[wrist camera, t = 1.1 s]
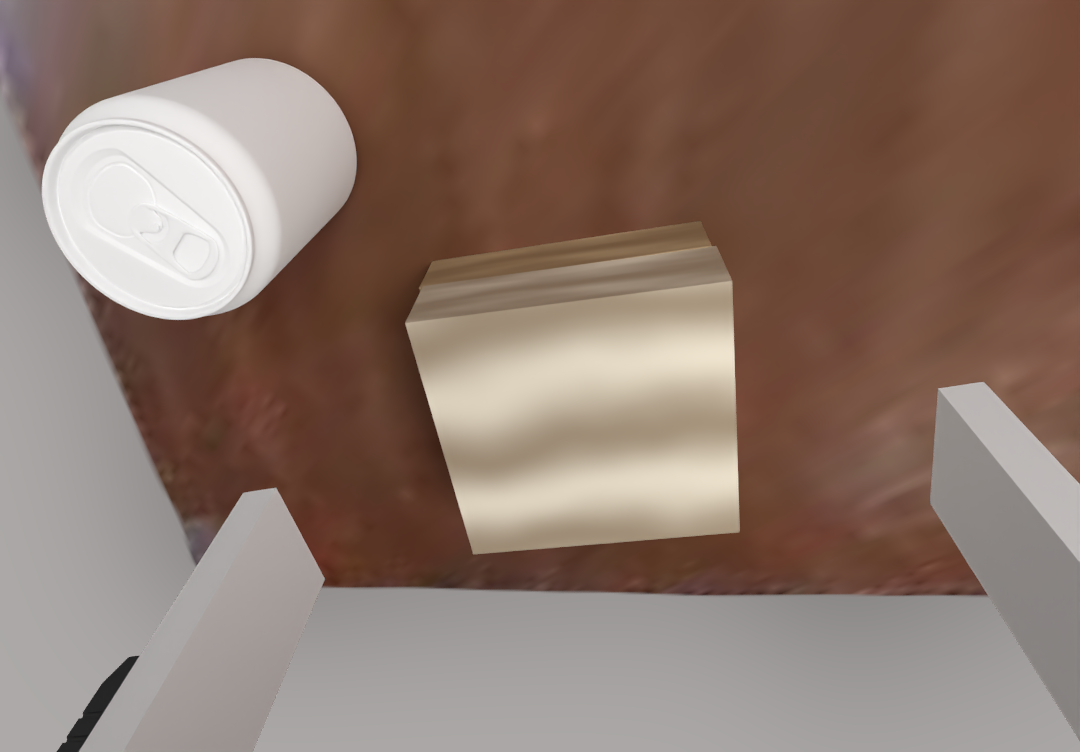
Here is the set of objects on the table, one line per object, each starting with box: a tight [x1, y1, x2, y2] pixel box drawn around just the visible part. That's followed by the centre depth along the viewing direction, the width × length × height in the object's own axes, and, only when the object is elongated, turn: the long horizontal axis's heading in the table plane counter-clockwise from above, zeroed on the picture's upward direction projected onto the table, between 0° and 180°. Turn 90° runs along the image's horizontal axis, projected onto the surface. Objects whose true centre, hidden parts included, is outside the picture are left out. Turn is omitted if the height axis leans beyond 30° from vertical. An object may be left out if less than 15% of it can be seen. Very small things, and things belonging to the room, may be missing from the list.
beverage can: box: [42, 58, 357, 320], centre depth 29 cm, size 8×8×12 cm
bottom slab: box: [419, 221, 711, 291], centre depth 38 cm, size 14×14×4 cm
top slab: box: [405, 246, 740, 554], centre depth 35 cm, size 14×14×4 cm
